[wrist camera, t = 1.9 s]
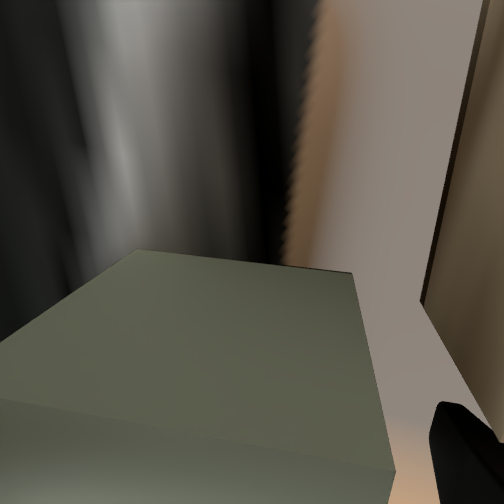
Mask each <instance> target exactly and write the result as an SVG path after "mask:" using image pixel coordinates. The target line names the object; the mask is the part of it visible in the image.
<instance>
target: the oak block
mask: <svg viewBox="0 0 504 504" xmlns="http://www.w3.org/2000/svg"><path fill="white" fill-rule="evenodd" d="M420 303H421V304H422V306H423V308H424V310H425V312H426V313H427V315H428V317H429V319H430V320H431V322H432V324H433V325H434V327H435V329H436V331H437V333H438V334H439V336H440V338H441V340H442V342H443V343H444V345H445V347H446V349H447V350H448V352H449V354H450V355H451V357H452V359H453V361H454V363H455V365H456V366H457V368H458V370H459V372H460V373H461V375H462V377H463V378H464V380H465V382H466V384H467V386H468V387H469V389H470V391H471V393H472V394H473V396H474V398H475V400H476V402H477V403H478V405H479V407H480V408H481V410H482V412H483V414H484V416H485V417H486V419H487V421H488V423H489V424H490V426H491V428H492V430H493V431H494V433H495V435H496V437H497V439H498V440H499V442H500V443H504V0H483V1H482V7H481V11H480V16H479V20H478V25H477V30H476V35H475V39H474V44H473V49H472V54H471V58H470V63H469V68H468V73H467V77H466V83H465V87H464V92H463V96H462V101H461V106H460V111H459V116H458V121H457V125H456V130H455V134H454V139H453V144H452V149H451V153H450V158H449V163H448V168H447V172H446V177H445V182H444V187H443V191H442V196H441V201H440V206H439V210H438V215H437V220H436V225H435V229H434V234H433V239H432V244H431V248H430V253H429V258H428V263H427V267H426V272H425V277H424V282H423V287H422V291H421V296H420Z"/></svg>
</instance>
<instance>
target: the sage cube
mask: <svg viewBox="0 0 504 504" xmlns="http://www.w3.org/2000/svg"><path fill="white" fill-rule="evenodd" d="M395 473H396V470H395V466H394V461H393V457H392V452H391V448H390V443H389V438H388V434H387V429H386V425H385V420H384V416H383V411H382V407H381V402H380V397H379V393H378V388H377V384H376V380H375V375H374V370H373V366H372V361H371V357H370V352H369V347H368V343H367V338H366V335H365V330H364V325H363V320H362V316H361V311H360V307H359V302H358V298H357V293H356V289H355V284H354V280H353V275H352V273H350V272H341V271H333V270H324V269H316V268H307V267H298V266H290V265H286V266H279V265H270V264H261V263H253V262H244V261H236V260H227V259H218V258H210V257H201V256H193V255H184V254H175V253H167V252H158V251H150V250H141V249H136V250H134V251H133V252H131V253H130V254H128V255H127V256H125V257H124V258H123V259H121V260H120V261H118V262H117V263H115V264H114V265H112V266H111V267H109V268H108V269H107V270H105V271H104V272H102V273H101V274H99V275H98V276H96V277H95V278H93V279H92V280H91V281H89V282H88V283H86V284H85V285H83V286H82V287H80V288H79V289H78V290H76V291H75V292H73V293H72V294H70V295H69V296H67V297H66V298H64V299H63V300H62V301H60V302H59V303H57V304H56V305H54V306H53V307H51V308H50V309H48V310H47V311H46V312H44V313H43V314H41V315H40V316H38V317H37V318H35V319H34V320H32V321H31V322H30V323H28V324H27V325H25V326H24V327H22V328H21V329H19V330H18V331H17V332H15V333H14V334H12V335H11V336H9V337H8V338H6V339H5V340H3V341H2V342H1V343H0V504H388V500H389V496H390V492H391V488H392V484H393V480H394V477H395Z"/></svg>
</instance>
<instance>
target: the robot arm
mask: <svg viewBox="0 0 504 504" xmlns="http://www.w3.org/2000/svg"><path fill="white" fill-rule="evenodd" d="M1 342H2V341H1ZM1 342H0V343H1ZM429 445H430V451H431V456H432V461H433V467H434V472H435V478H436V483H437V489H438V494H439V499H440V504H504V443H500V442H499V440H498V439H497V437H496V435H495V433H494V431H493V430H492V429H490V428H489V427H488V426H487V425H485V424H484V423H483V422H482V421H481V420H480V419H479V418H477V417H476V416H475V415H474V414H473V413H471V412H470V411H469V410H468V409H467V408H465V407H464V406H463V405H461V404H457V403H450V402H445V401H442V402H439V404H438V405H437V407H436V411H435V414H434V418H433V421H432V425H431V428H430V432H429Z"/></svg>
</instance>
